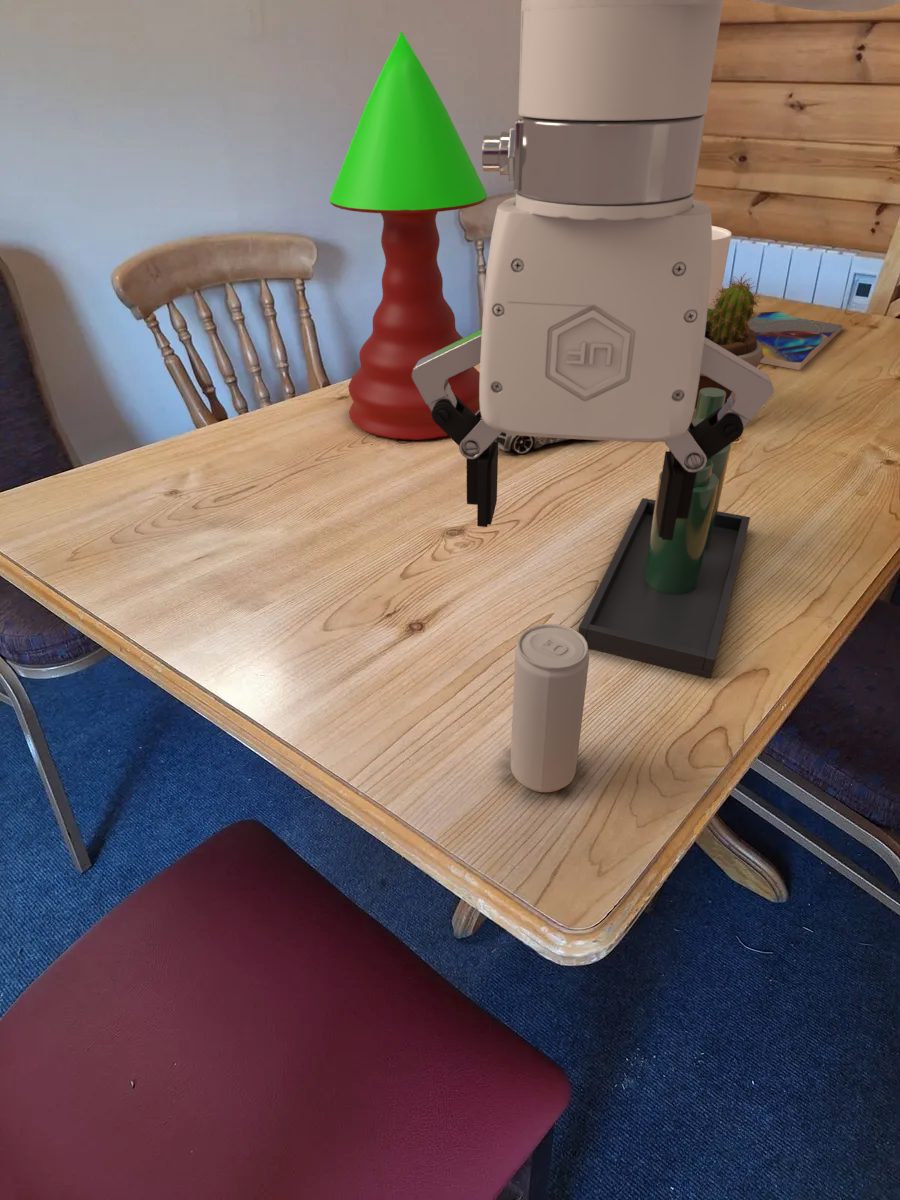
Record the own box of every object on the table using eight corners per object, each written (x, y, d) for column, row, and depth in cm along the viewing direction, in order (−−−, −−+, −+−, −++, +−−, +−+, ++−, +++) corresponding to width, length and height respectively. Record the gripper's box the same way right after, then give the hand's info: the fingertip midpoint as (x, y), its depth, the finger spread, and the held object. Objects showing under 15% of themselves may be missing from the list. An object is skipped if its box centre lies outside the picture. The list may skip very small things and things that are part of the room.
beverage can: (535, 737, 60) (543, 613, 53) (588, 768, 57) (604, 641, 50) (496, 774, 57) (500, 647, 50) (550, 808, 55) (562, 679, 48)
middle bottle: (702, 571, 77) (734, 416, 68) (693, 599, 74) (725, 439, 64) (649, 560, 79) (674, 408, 70) (638, 587, 75) (662, 430, 66)
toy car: (479, 437, 106) (479, 402, 103) (588, 417, 111) (592, 383, 108) (501, 459, 100) (502, 422, 97) (615, 437, 105) (620, 402, 102)
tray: (746, 533, 84) (750, 516, 83) (710, 678, 65) (715, 659, 64) (639, 514, 88) (642, 497, 87) (576, 645, 69) (578, 626, 68)
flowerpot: (618, 410, 113) (635, 264, 101) (693, 388, 119) (717, 248, 107) (693, 445, 103) (722, 287, 91) (770, 419, 109) (806, 268, 97)
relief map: (757, 317, 149) (760, 306, 148) (841, 330, 142) (844, 319, 140) (708, 353, 133) (710, 341, 131) (799, 370, 125) (802, 357, 124)
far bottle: (714, 532, 83) (744, 386, 74) (706, 557, 79) (738, 405, 70) (665, 523, 85) (689, 379, 76) (655, 547, 81) (679, 397, 72)
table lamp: (378, 453, 102) (346, 30, 76) (331, 403, 117) (290, 33, 91) (510, 425, 109) (522, 27, 83) (450, 381, 124) (444, 31, 97)
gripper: (384, 178, 31) (405, 545, 41) (844, 181, 28) (747, 571, 38) (421, 156, 37) (432, 480, 47) (804, 157, 34) (729, 499, 44)
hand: (574, 521), depth 43 cm, fingers open, 9 cm apart
